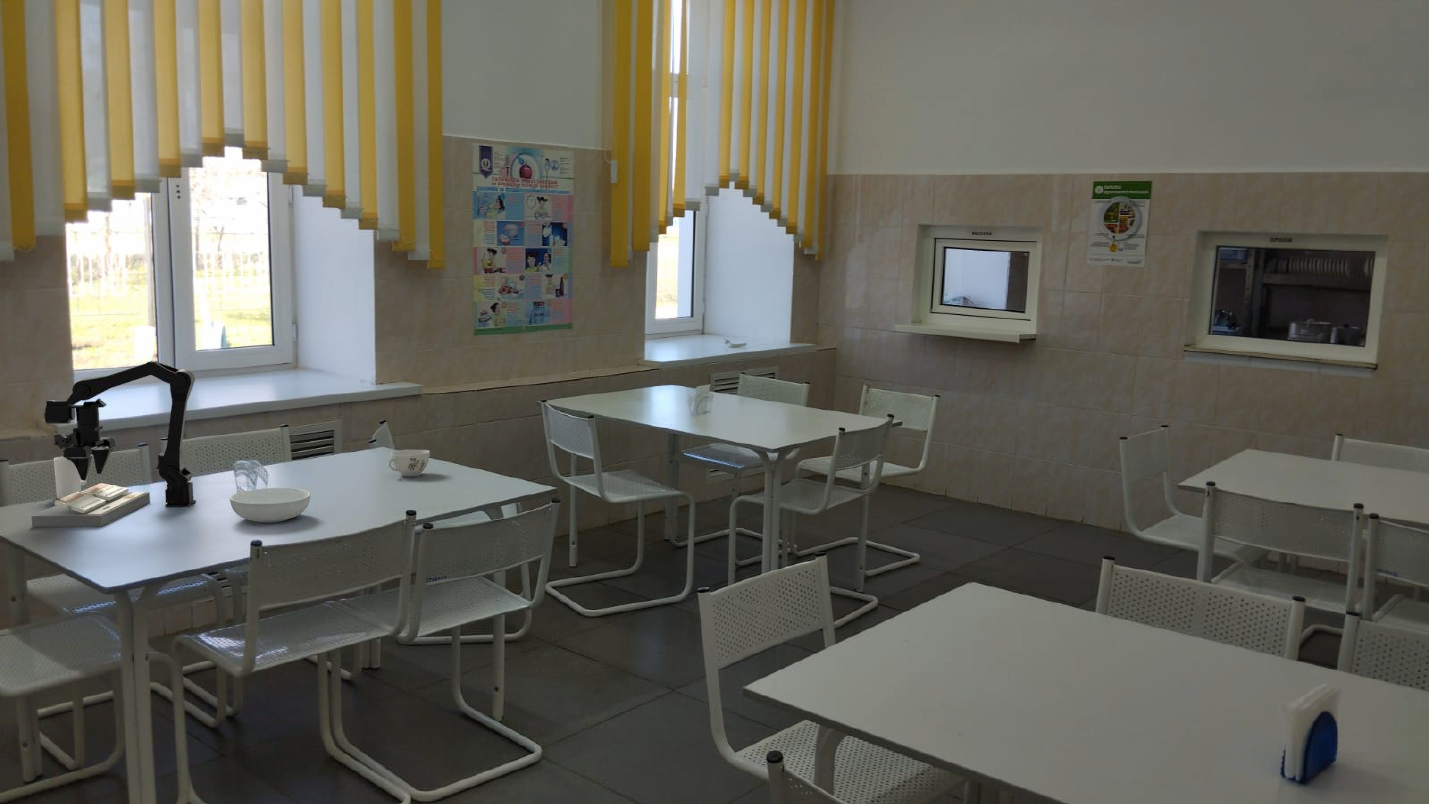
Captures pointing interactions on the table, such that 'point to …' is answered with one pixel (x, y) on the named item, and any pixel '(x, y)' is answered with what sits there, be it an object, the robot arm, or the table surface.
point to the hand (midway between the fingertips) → (91, 477)
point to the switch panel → (91, 512)
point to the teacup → (409, 461)
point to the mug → (66, 477)
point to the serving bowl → (270, 504)
